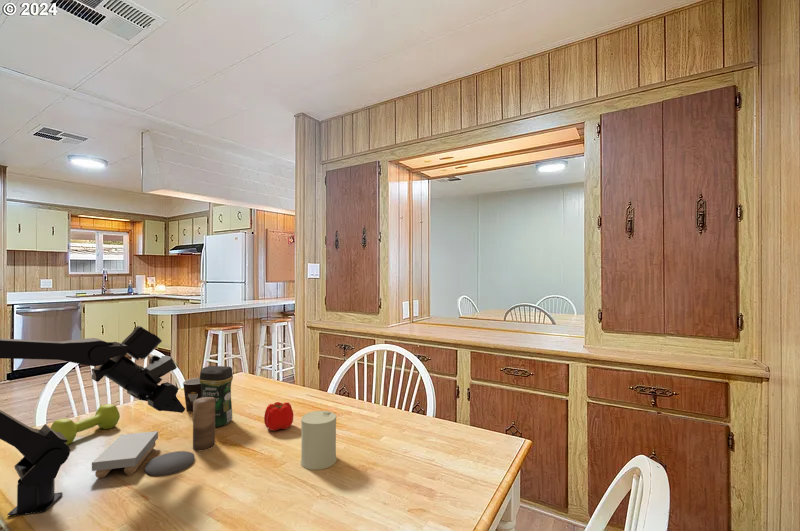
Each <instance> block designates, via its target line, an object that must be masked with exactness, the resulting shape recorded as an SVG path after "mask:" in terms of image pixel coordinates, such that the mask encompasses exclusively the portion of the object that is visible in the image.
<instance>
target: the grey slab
mask: <svg viewBox="0 0 800 531" xmlns="http://www.w3.org/2000/svg"><path fill="white" fill-rule="evenodd" d="M158 439H159V431H158V430H157V431H156V430H155V431H146V432H145V431H144V432H143V431H142V432H133V433H125V434H120V435H119V436H118V437H117V438H116V439H115V440H113V442H112V443H111V444H109V446H108V447H107V448H105V449H104V450H103V451H102V452H101V453H100V454H99V455H98V456H97V457H96V458H95V459H94V460H93V461H91V472H92V471H93V472H94V471H95V477H96V478H97V479H103V478H105V477H106V476H107V475H108V474H109V473H110V471H111V470H113V469H121V468H123V469H124V470H123V471H124V474H125V475H128V476H131V475H133V474H134V473H135V472H136V471H137V470H138V468H139V467H140V466H141V464H142V463H143V462H144V461H145V459H146V458H147V457H148V455H150V453H151V452H152V450H154V448H155V446H156V442H157V440H158Z"/></svg>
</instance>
